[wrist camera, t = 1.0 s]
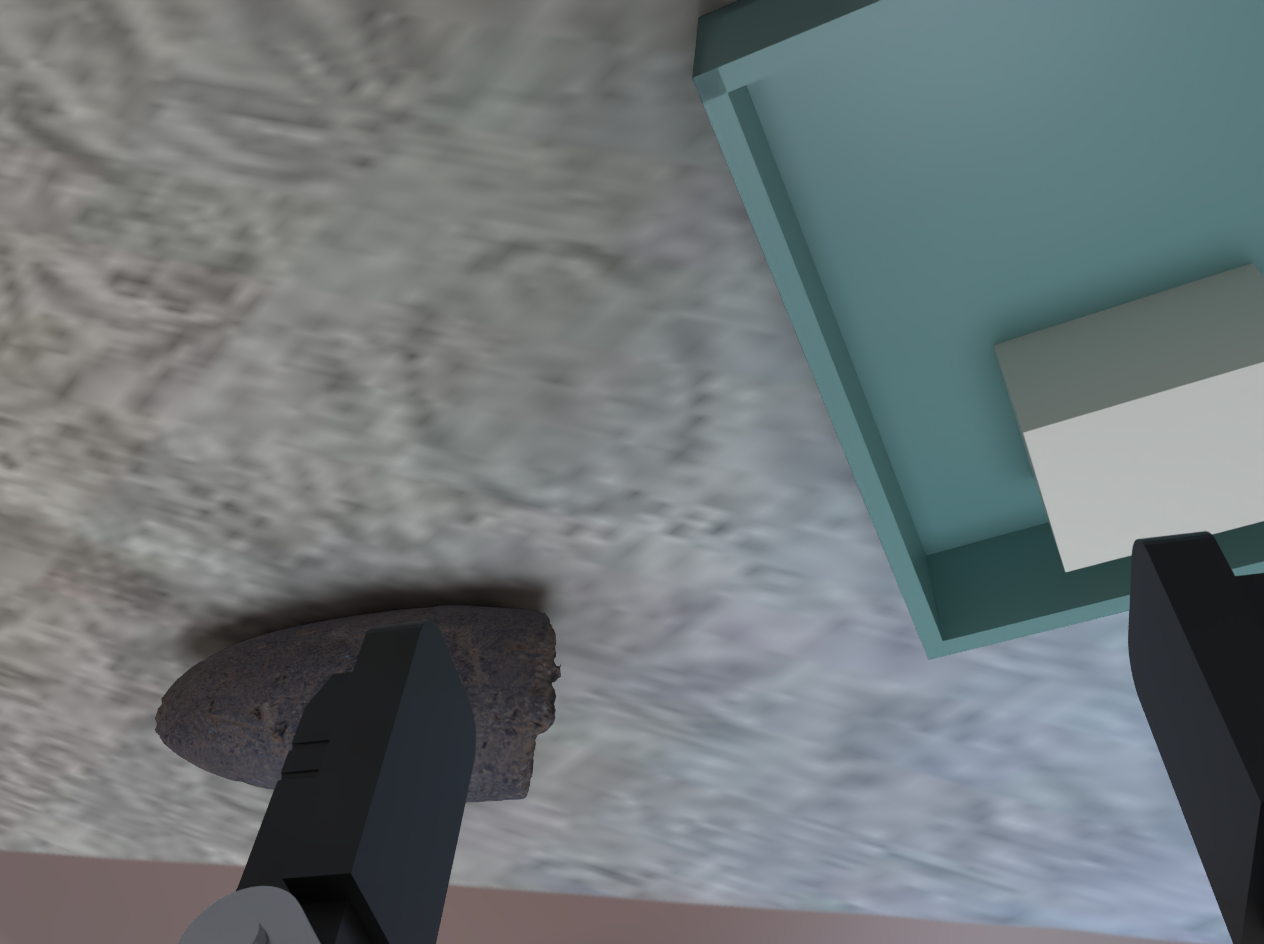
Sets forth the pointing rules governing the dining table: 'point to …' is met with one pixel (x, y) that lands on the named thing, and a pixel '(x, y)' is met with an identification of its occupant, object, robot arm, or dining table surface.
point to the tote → (981, 242)
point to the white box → (1146, 416)
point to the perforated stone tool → (309, 654)
